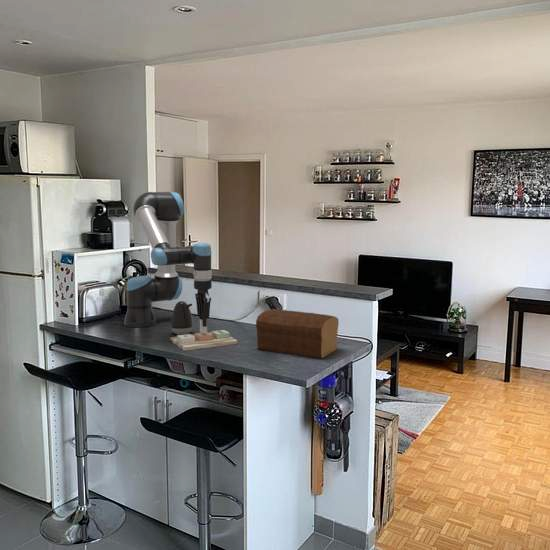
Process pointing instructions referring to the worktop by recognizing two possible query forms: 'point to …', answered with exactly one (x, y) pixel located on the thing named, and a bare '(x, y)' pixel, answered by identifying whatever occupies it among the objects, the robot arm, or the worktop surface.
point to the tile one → (185, 338)
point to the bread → (297, 333)
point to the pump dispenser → (182, 319)
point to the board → (204, 343)
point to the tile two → (203, 337)
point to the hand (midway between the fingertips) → (203, 333)
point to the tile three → (220, 334)
